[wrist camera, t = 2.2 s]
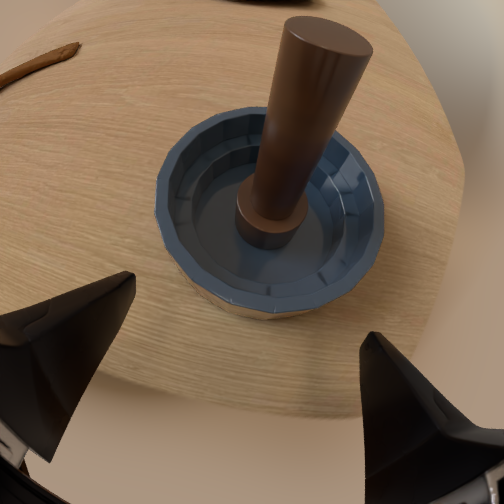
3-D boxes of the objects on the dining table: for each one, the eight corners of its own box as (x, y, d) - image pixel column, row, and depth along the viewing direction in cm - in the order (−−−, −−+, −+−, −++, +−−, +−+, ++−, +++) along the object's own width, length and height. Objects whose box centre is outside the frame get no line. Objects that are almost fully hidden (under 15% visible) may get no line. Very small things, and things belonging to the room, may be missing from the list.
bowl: (366, 305, 18) (406, 293, 14) (173, 326, 17) (154, 322, 12) (330, 151, 22) (350, 113, 18) (173, 154, 21) (164, 111, 16)
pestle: (301, 247, 19) (420, 88, 5) (237, 252, 18) (269, 57, 5) (291, 192, 20) (364, 22, 7) (232, 194, 19) (250, 3, 6)
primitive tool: (80, 43, 27) (75, 28, 24) (73, 56, 26) (67, 40, 22) (-2, 87, 24) (-9, 75, 21) (-12, 104, 23) (-20, 92, 19)
